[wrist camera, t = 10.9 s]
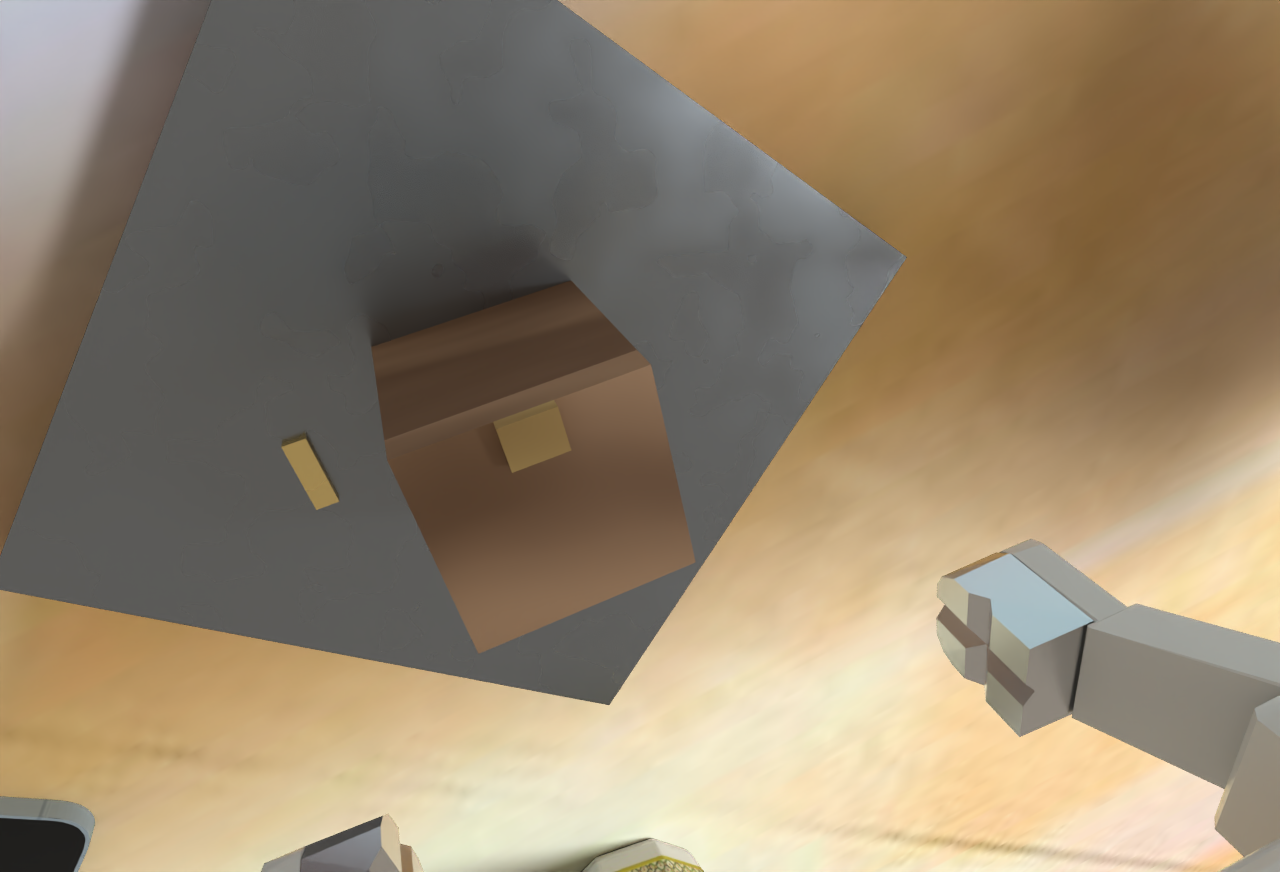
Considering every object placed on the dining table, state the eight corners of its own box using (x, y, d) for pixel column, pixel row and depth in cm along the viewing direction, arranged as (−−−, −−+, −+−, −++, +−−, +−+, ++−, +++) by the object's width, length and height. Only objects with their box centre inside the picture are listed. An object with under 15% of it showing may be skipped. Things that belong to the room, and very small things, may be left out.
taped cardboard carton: (616, 445, 22) (701, 570, 17) (444, 511, 21) (480, 663, 16) (570, 280, 20) (656, 370, 15) (371, 347, 19) (388, 468, 14)
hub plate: (876, 244, 24) (1005, 297, 20) (596, 675, 28) (648, 799, 24) (290, -180, 15) (275, -269, 10) (9, 551, 19) (-87, 714, 15)
